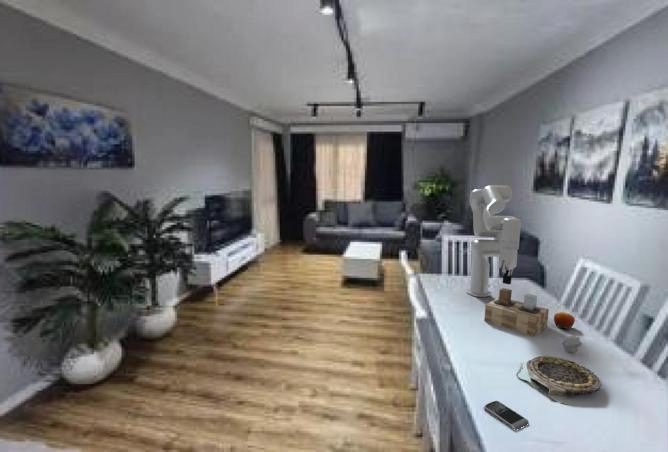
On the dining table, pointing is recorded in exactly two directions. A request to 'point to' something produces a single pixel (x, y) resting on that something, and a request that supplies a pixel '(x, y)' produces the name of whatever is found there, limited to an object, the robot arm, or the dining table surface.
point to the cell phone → (506, 415)
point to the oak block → (516, 316)
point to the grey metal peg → (530, 302)
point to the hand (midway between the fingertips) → (506, 283)
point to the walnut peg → (505, 296)
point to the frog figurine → (571, 343)
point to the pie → (561, 376)
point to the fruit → (564, 320)
